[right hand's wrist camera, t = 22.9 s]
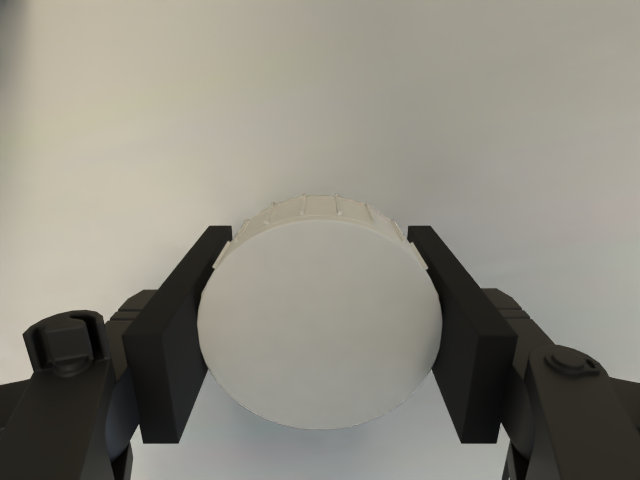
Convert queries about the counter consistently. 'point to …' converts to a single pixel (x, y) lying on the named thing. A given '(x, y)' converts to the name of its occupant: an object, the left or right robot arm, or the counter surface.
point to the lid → (319, 315)
